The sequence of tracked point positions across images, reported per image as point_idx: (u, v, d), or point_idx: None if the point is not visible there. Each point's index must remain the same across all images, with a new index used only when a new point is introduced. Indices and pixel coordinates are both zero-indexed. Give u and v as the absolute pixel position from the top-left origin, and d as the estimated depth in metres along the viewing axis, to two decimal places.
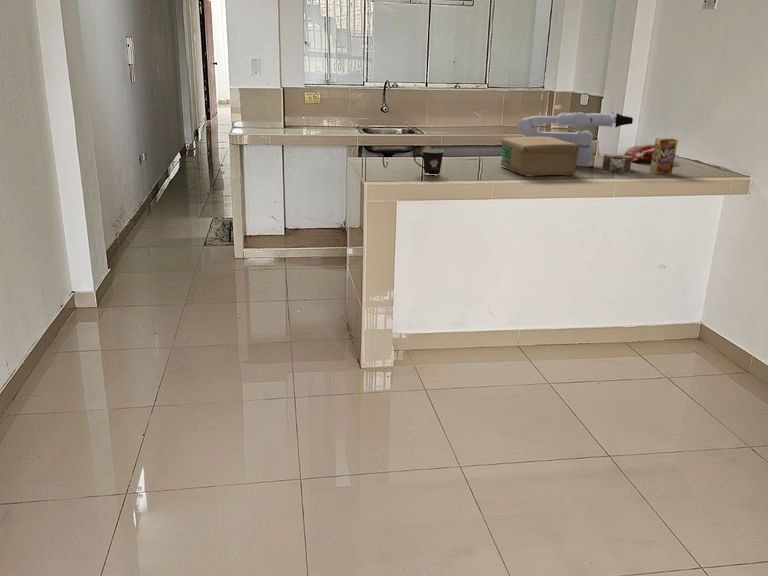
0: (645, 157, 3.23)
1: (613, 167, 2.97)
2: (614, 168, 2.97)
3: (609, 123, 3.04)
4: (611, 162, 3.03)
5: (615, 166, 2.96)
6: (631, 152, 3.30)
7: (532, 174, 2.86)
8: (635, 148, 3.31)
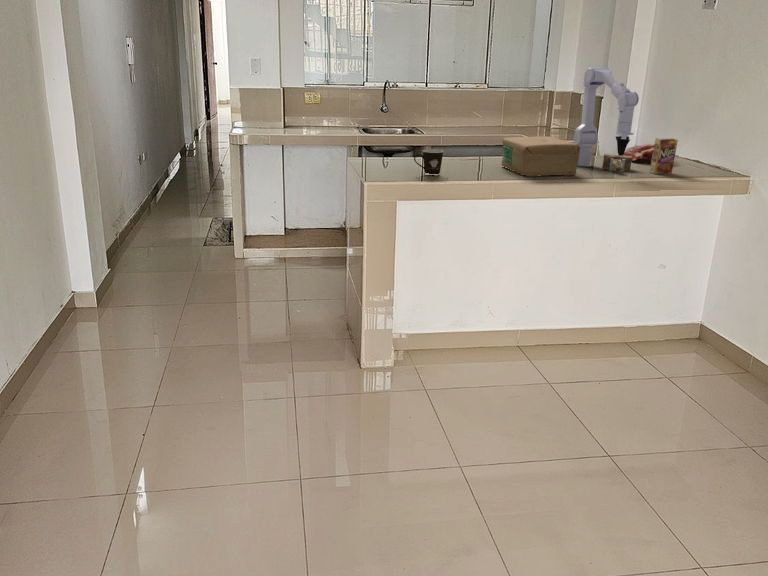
0: (644, 157, 3.23)
1: (613, 167, 2.97)
2: (614, 168, 2.97)
3: (620, 131, 2.84)
4: (611, 162, 3.03)
5: (615, 166, 2.96)
6: (630, 152, 3.30)
7: (534, 174, 2.86)
8: (634, 148, 3.31)
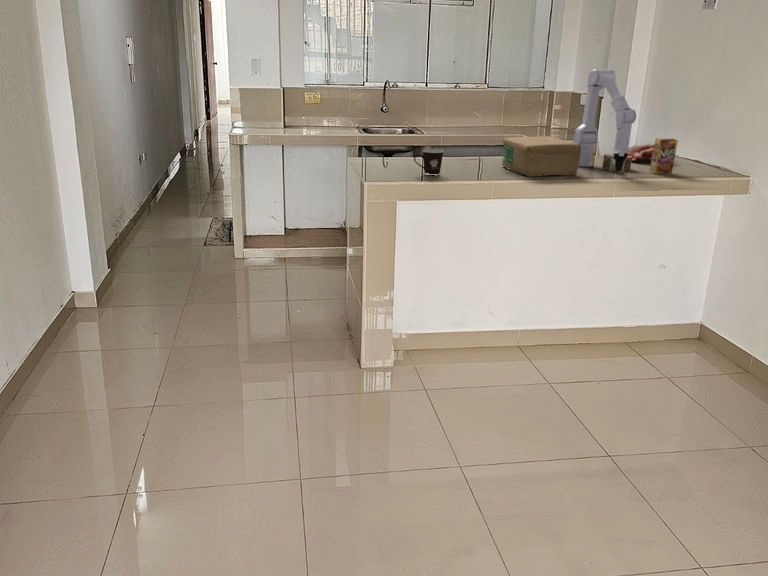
0: (643, 157, 3.23)
1: (613, 167, 2.97)
2: (614, 168, 2.97)
3: (618, 148, 2.86)
4: (611, 162, 3.03)
5: None
6: (629, 152, 3.30)
7: (535, 174, 2.86)
8: (634, 148, 3.31)
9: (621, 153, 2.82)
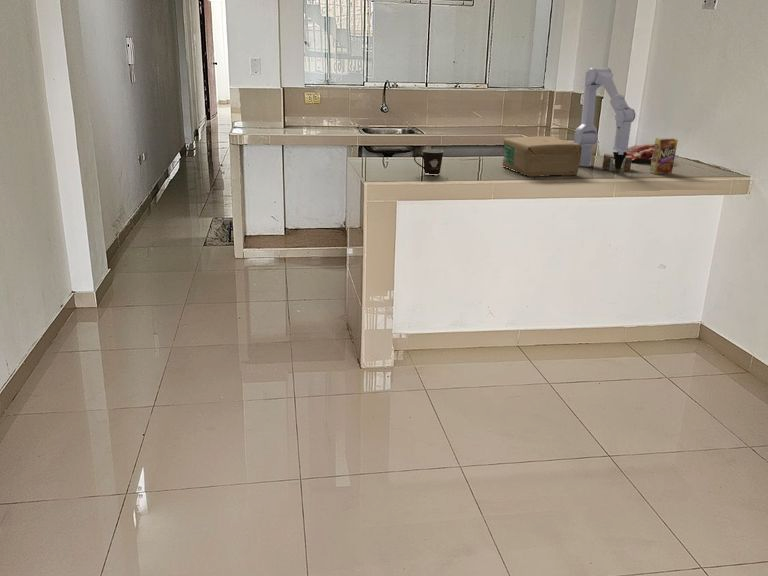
0: (643, 157, 3.23)
1: (613, 167, 2.97)
2: (614, 168, 2.97)
3: (617, 147, 2.90)
4: (611, 162, 3.03)
5: None
6: (629, 151, 3.30)
7: (536, 174, 2.86)
8: (633, 148, 3.31)
9: (620, 152, 2.86)
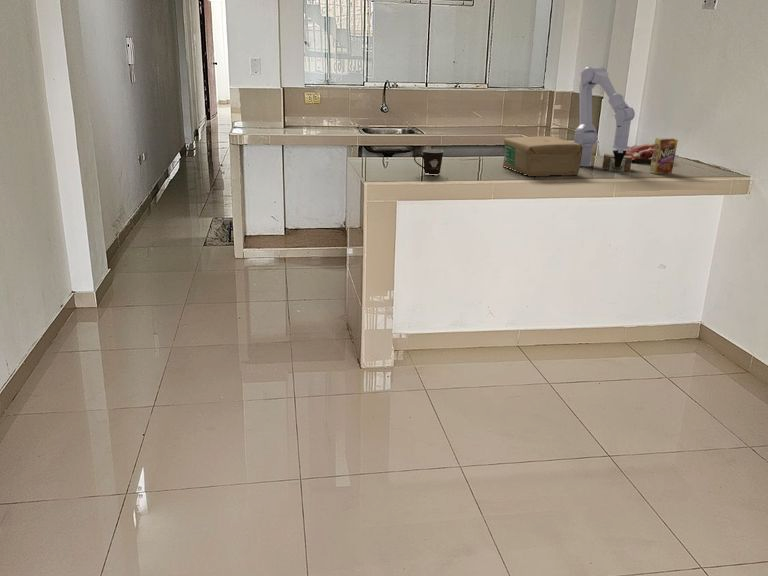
0: (642, 157, 3.23)
1: (613, 165, 3.01)
2: (614, 166, 3.01)
3: (617, 145, 2.94)
4: (611, 162, 3.03)
5: None
6: (628, 151, 3.30)
7: (537, 174, 2.86)
8: (633, 148, 3.31)
9: (620, 150, 2.90)
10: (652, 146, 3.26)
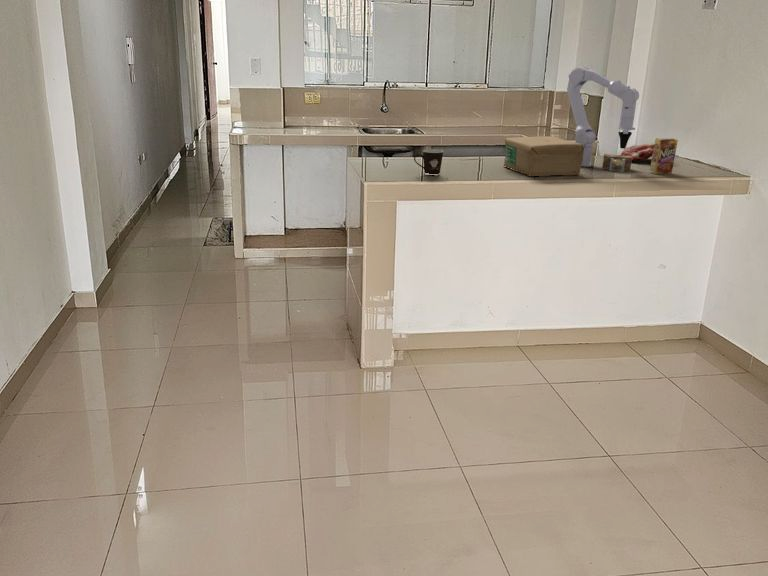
0: (641, 157, 3.23)
1: (613, 165, 3.01)
2: (614, 166, 3.01)
3: (622, 126, 2.97)
4: (611, 162, 3.03)
5: (615, 164, 3.01)
6: (627, 151, 3.30)
7: (539, 174, 2.86)
8: (632, 148, 3.31)
9: (625, 131, 2.93)
10: (651, 146, 3.26)
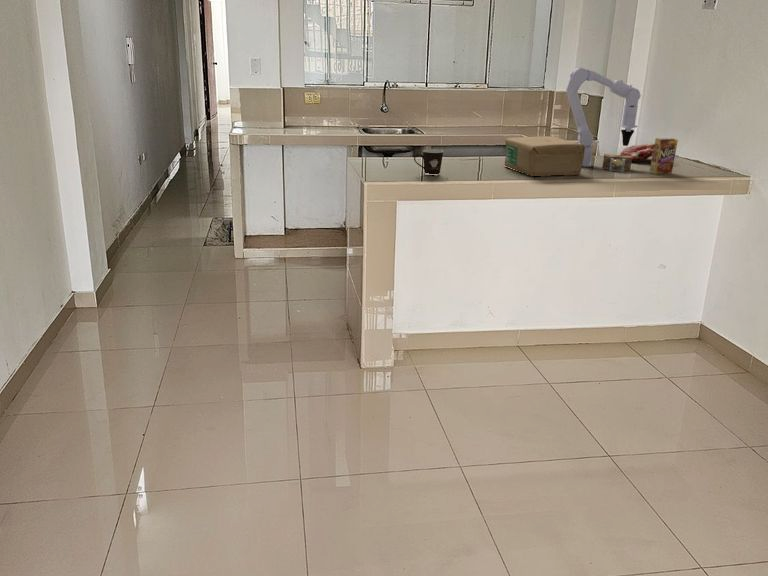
0: (640, 157, 3.23)
1: (613, 165, 3.01)
2: (614, 166, 3.01)
3: (625, 124, 3.05)
4: (611, 162, 3.03)
5: (615, 164, 3.01)
6: (627, 151, 3.30)
7: (540, 174, 2.86)
8: (631, 148, 3.31)
9: (628, 128, 3.01)
10: (650, 146, 3.26)
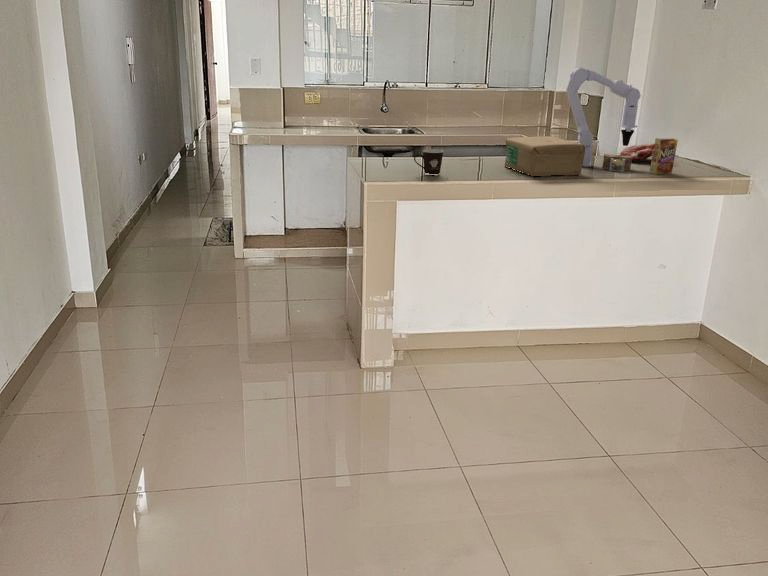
0: (639, 157, 3.23)
1: (613, 165, 3.01)
2: (614, 166, 3.01)
3: (625, 124, 3.05)
4: (611, 162, 3.03)
5: (615, 164, 3.01)
6: (626, 151, 3.30)
7: (541, 174, 2.86)
8: (631, 148, 3.31)
9: (628, 128, 3.01)
10: (650, 146, 3.26)
